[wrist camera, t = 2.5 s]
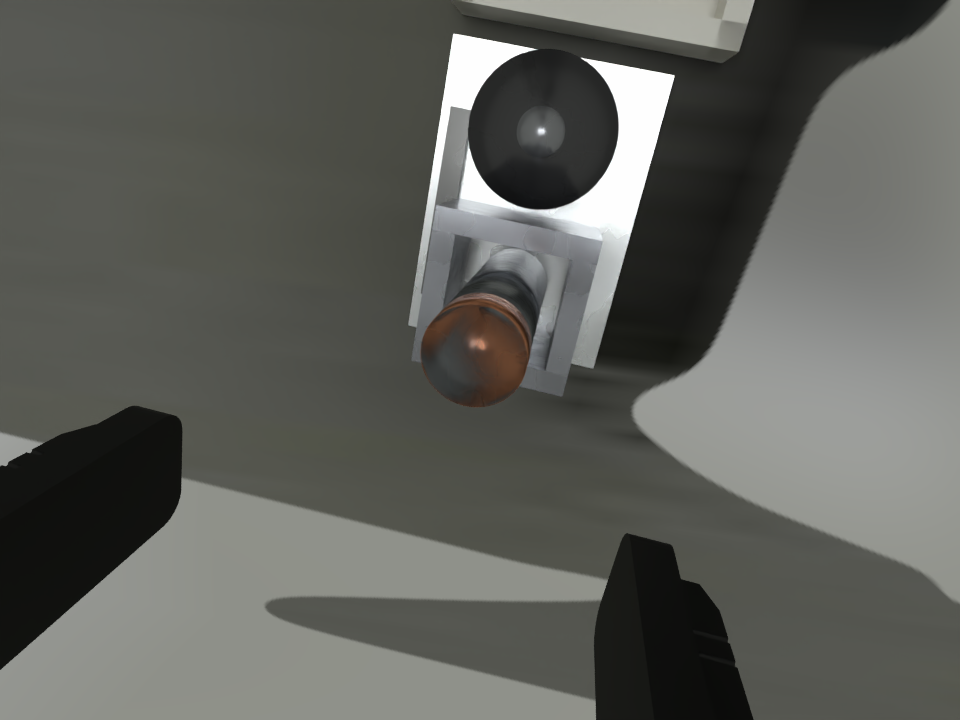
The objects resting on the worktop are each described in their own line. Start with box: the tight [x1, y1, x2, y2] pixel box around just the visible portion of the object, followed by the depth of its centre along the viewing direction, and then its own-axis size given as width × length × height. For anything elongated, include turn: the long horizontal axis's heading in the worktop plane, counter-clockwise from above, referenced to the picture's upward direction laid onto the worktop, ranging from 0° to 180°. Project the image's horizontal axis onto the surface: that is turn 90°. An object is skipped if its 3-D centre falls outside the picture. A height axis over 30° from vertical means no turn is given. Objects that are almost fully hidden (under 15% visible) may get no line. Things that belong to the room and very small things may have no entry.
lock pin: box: [420, 249, 547, 407], centre depth 24 cm, size 3×3×12 cm
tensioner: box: [408, 34, 674, 397], centre depth 27 cm, size 14×10×6 cm
